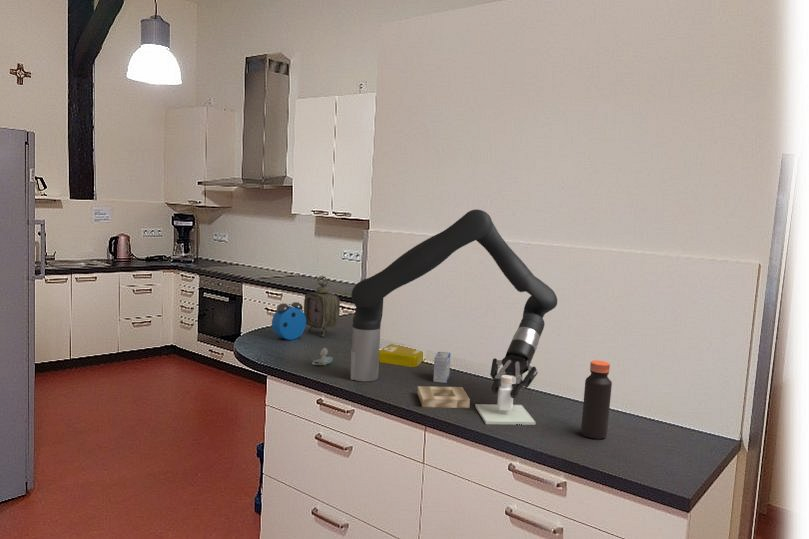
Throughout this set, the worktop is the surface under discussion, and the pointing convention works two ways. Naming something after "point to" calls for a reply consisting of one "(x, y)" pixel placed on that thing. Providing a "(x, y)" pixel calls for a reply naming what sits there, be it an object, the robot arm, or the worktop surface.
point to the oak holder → (443, 397)
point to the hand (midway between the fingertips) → (503, 394)
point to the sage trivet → (504, 415)
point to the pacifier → (323, 358)
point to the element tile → (400, 355)
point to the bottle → (596, 401)
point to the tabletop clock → (321, 308)
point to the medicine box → (441, 367)
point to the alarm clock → (289, 321)
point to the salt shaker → (505, 393)
